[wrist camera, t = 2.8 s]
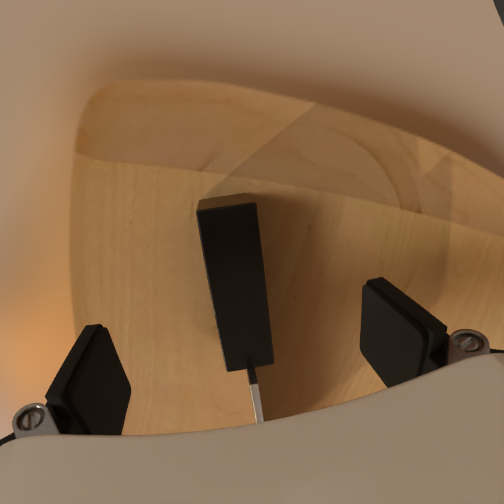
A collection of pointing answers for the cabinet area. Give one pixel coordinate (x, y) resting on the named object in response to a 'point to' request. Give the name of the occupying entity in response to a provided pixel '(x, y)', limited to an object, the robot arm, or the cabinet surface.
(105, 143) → the cabinet surface
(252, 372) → the cake knife
